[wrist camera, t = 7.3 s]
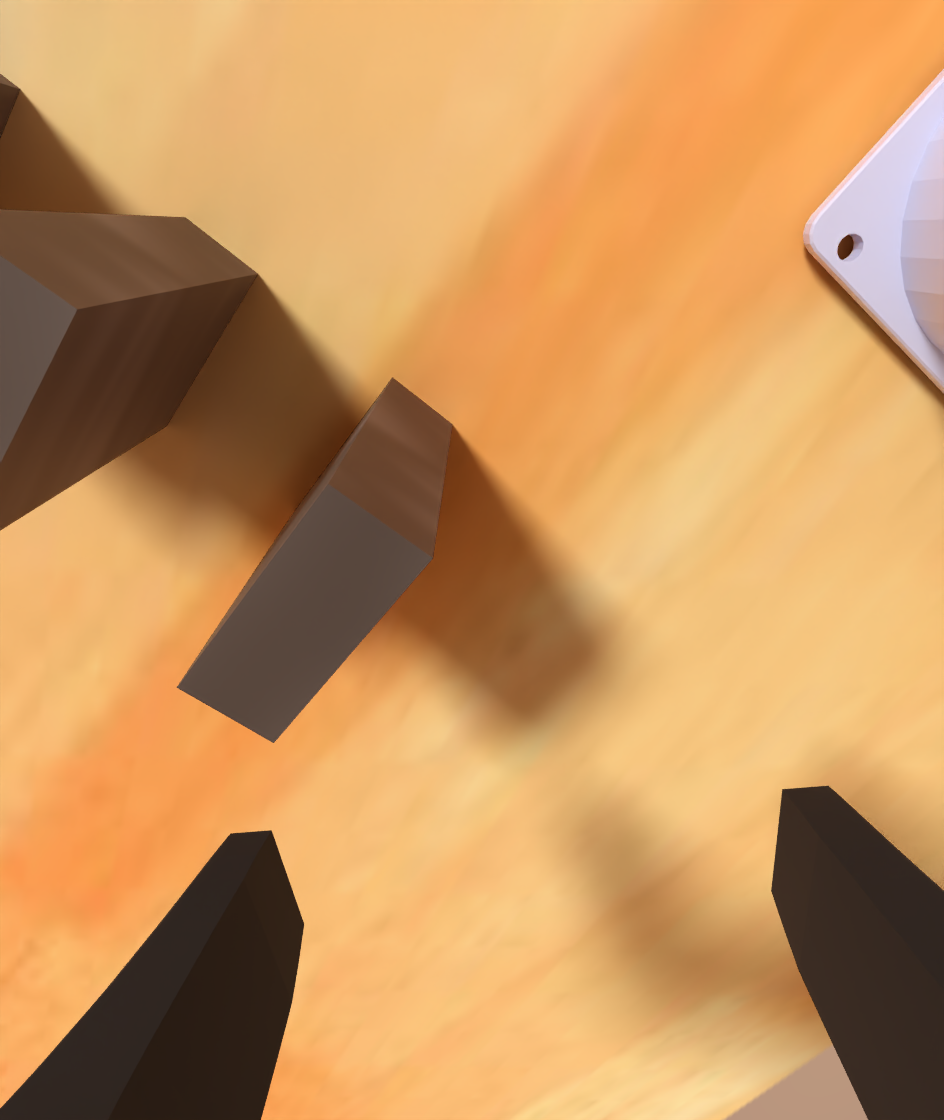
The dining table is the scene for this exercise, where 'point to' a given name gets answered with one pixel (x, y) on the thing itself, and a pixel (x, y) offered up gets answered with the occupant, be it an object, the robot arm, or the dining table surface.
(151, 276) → the domino
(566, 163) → the dining table surface
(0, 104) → the domino
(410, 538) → the domino
